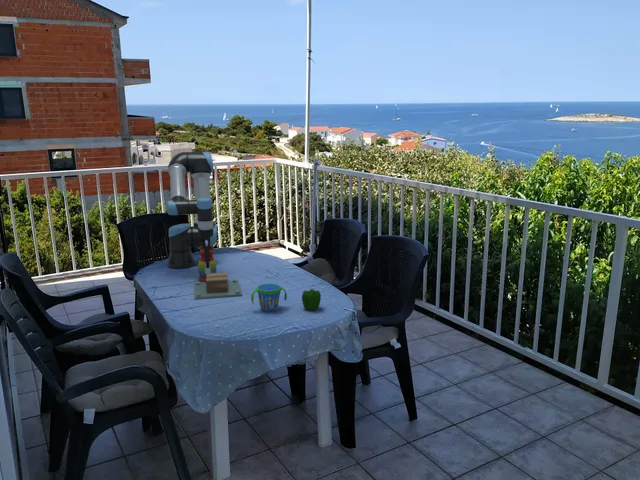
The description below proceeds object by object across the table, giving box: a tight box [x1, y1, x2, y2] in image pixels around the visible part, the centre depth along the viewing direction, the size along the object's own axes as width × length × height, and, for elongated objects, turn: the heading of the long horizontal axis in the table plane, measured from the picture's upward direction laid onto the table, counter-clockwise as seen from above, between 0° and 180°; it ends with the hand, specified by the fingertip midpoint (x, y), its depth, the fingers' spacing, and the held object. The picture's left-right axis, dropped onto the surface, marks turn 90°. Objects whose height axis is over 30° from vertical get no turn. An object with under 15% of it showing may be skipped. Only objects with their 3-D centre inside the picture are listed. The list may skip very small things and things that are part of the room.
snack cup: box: [250, 283, 288, 313], centre depth 228 cm, size 16×10×10 cm
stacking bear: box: [197, 246, 217, 283], centre depth 269 cm, size 11×10×18 cm
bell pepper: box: [301, 288, 322, 311], centre depth 228 cm, size 8×8×10 cm
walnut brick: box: [205, 271, 229, 293], centre depth 253 cm, size 13×10×6 cm
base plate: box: [193, 278, 243, 300], centre depth 254 cm, size 22×22×2 cm
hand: (207, 271), depth 270 cm, fingers closed on stacking bear, 9 cm apart
